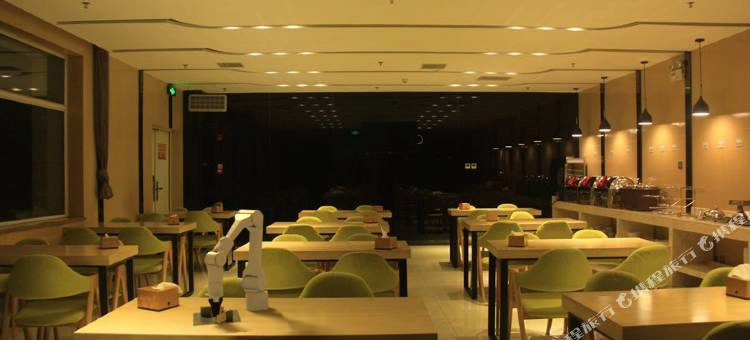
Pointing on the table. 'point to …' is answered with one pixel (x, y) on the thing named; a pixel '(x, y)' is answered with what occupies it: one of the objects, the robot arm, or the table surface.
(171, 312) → the table surface
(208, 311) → the knob
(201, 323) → the levelling plate
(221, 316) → the knob
